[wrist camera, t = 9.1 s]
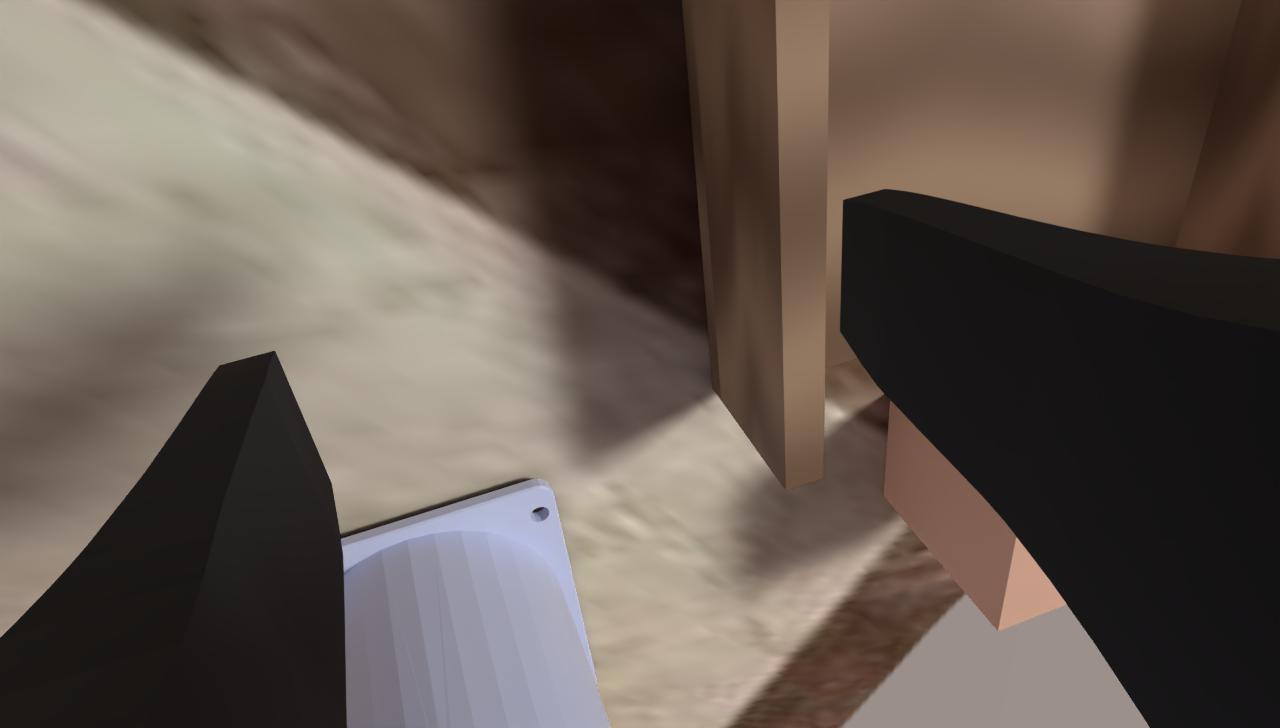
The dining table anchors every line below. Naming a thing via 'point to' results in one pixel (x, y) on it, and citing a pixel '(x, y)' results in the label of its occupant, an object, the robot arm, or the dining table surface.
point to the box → (955, 153)
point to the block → (963, 529)
